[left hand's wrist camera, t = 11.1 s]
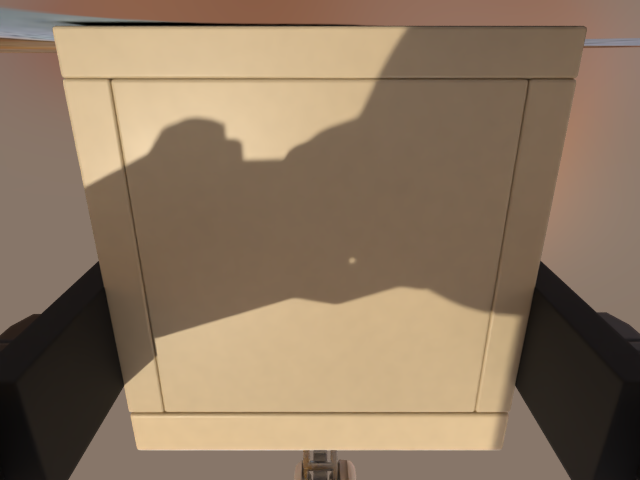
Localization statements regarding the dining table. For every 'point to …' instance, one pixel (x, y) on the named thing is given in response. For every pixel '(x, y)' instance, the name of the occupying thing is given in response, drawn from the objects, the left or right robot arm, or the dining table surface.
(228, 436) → the lid
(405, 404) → the chest
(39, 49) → the dining table surface
